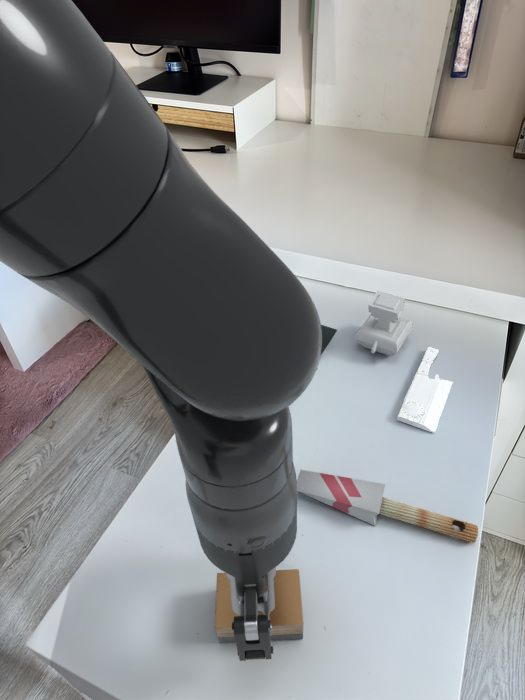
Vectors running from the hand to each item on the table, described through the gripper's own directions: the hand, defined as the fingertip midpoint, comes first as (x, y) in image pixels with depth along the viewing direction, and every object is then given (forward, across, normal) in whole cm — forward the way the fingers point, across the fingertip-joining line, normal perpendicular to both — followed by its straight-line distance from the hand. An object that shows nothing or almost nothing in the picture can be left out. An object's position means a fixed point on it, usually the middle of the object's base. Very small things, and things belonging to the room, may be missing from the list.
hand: (256, 589), depth 47 cm
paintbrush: (+5, -10, +14) cm, 18 cm away
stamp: (+6, -38, +20) cm, 43 cm away
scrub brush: (+5, 0, 0) cm, 5 cm away
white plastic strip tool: (+5, -28, +25) cm, 38 cm away
